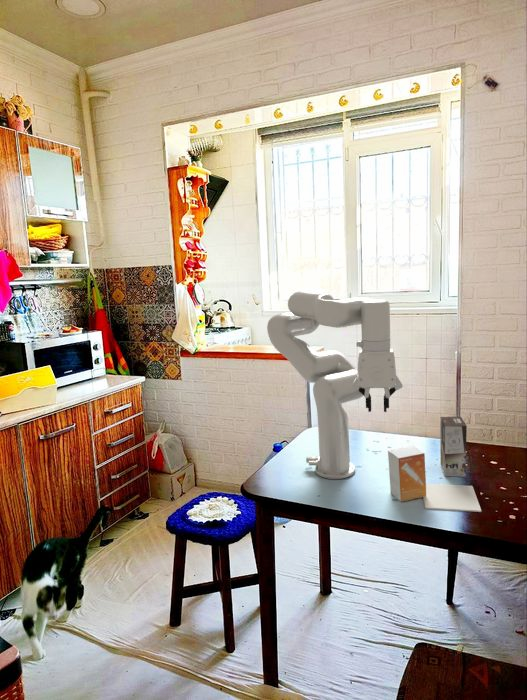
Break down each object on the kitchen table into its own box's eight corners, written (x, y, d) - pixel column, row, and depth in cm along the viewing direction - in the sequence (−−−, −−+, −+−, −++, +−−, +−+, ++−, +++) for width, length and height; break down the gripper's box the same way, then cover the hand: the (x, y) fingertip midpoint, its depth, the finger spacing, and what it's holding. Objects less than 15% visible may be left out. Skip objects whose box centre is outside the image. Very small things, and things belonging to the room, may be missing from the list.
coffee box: (466, 477, 150) (467, 426, 146) (444, 476, 151) (444, 425, 148) (461, 464, 158) (461, 415, 155) (439, 463, 160) (439, 415, 157)
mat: (425, 508, 133) (425, 507, 133) (421, 484, 147) (421, 483, 146) (481, 512, 130) (481, 510, 130) (472, 487, 143) (472, 485, 143)
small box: (400, 502, 137) (398, 458, 135) (390, 492, 143) (387, 450, 141) (427, 496, 139) (425, 452, 136) (415, 487, 145) (413, 444, 142)
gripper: (344, 348, 133) (346, 414, 136) (408, 347, 129) (409, 415, 132) (346, 343, 140) (348, 406, 144) (407, 342, 136) (408, 406, 140)
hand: (377, 409), depth 138 cm, fingers open, 3 cm apart
